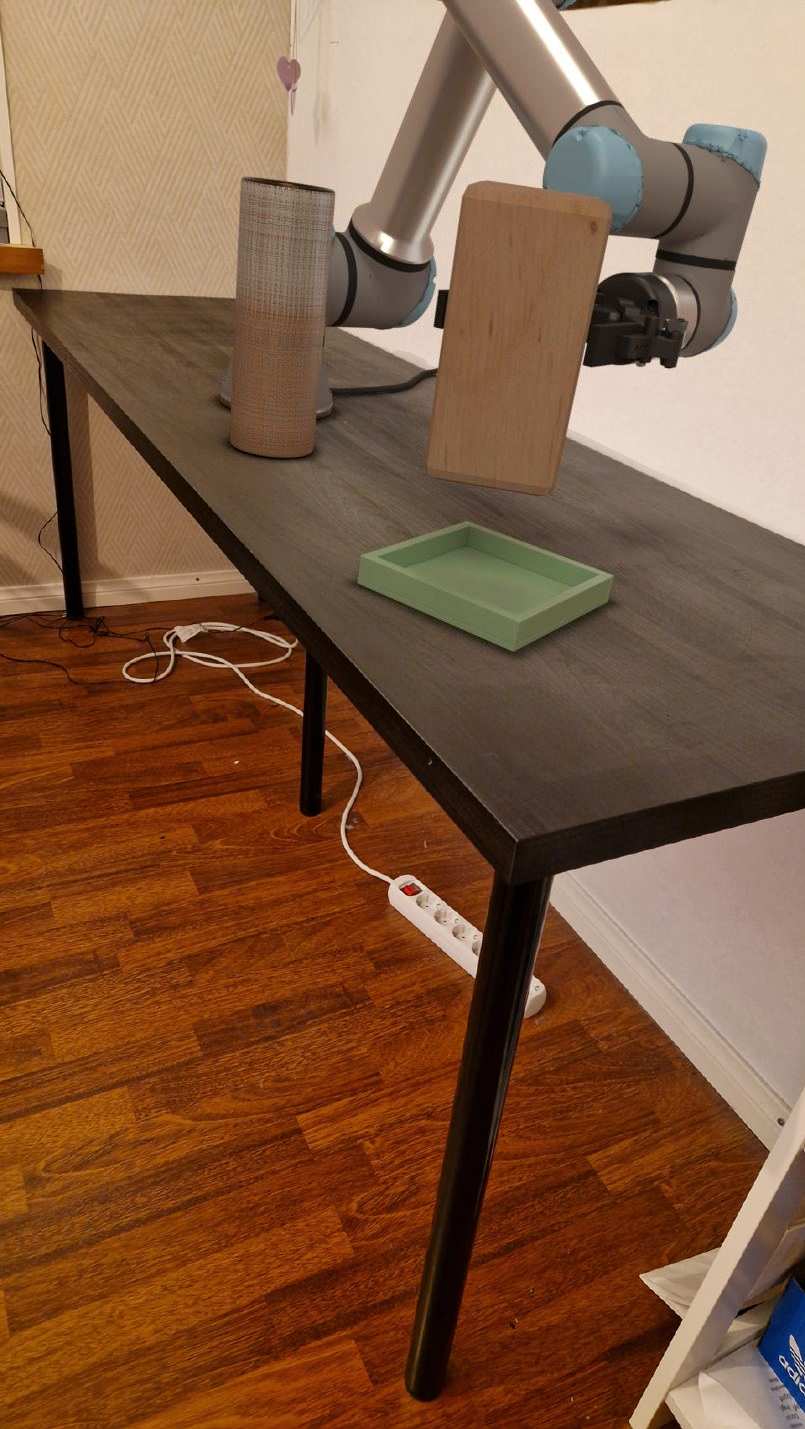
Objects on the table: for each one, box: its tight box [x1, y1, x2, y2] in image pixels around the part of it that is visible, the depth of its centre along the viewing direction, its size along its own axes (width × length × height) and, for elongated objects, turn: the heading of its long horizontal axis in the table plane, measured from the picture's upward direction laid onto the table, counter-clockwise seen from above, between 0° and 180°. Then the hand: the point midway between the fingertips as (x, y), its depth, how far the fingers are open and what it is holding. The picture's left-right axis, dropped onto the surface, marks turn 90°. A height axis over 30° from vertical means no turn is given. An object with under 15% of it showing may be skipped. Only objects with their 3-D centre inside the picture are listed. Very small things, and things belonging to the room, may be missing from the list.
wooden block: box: [424, 180, 612, 497], centre depth 72 cm, size 10×10×20 cm
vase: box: [229, 176, 336, 460], centre depth 108 cm, size 10×10×28 cm
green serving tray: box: [356, 520, 615, 653], centre depth 84 cm, size 16×16×3 cm
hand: (511, 327), depth 71 cm, fingers closed on wooden block, 13 cm apart
